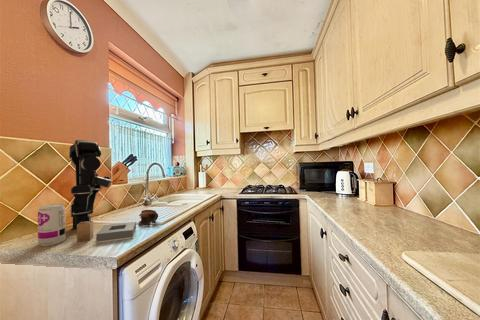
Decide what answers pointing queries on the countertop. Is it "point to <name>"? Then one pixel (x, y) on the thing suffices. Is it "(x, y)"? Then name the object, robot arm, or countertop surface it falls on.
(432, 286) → the countertop surface
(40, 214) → the supplement can
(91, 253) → the countertop surface
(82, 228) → the wooden toy block
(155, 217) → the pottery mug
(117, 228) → the charcoal well block
